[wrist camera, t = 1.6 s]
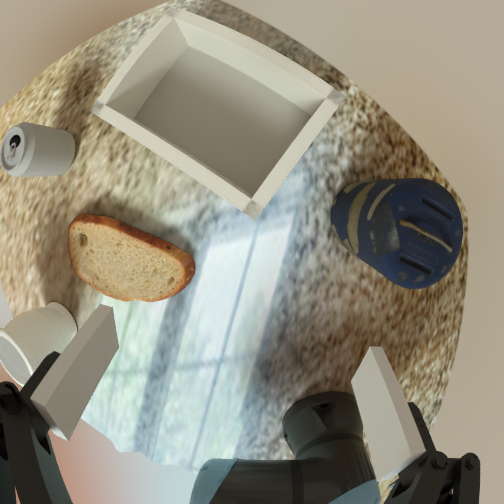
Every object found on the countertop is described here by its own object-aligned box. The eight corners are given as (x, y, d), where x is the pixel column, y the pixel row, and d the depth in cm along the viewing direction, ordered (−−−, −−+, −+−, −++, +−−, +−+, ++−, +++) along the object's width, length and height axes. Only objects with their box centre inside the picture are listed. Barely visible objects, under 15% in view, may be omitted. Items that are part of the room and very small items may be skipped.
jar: (36, 316, 41) (-11, 350, 27) (52, 284, 39) (-4, 317, 25) (71, 355, 43) (29, 398, 28) (91, 328, 41) (42, 374, 26)
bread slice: (205, 276, 38) (200, 285, 35) (118, 325, 41) (108, 336, 37) (140, 167, 35) (128, 165, 31) (62, 233, 38) (48, 237, 34)
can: (83, 130, 34) (31, 119, 22) (74, 178, 35) (20, 179, 24) (52, 130, 33) (2, 122, 22) (44, 174, 35) (-7, 175, 23)
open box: (326, 117, 32) (345, 96, 24) (256, 212, 36) (255, 220, 27) (189, 38, 30) (172, 6, 21) (123, 124, 33) (90, 111, 25)
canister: (364, 263, 37) (432, 318, 19) (313, 223, 36) (359, 256, 18) (402, 209, 35) (488, 229, 17) (353, 166, 34) (427, 151, 16)
